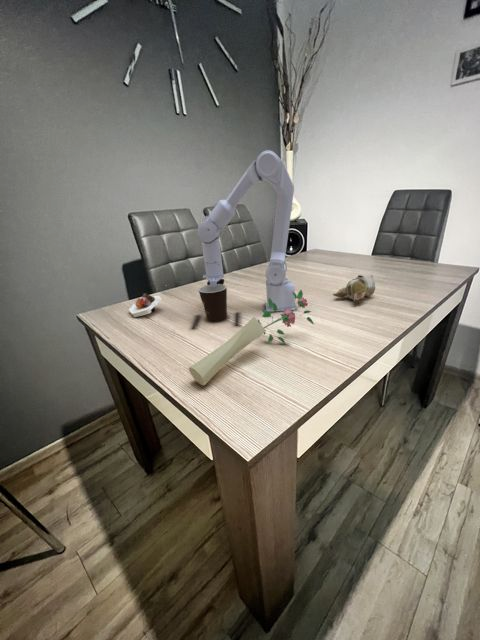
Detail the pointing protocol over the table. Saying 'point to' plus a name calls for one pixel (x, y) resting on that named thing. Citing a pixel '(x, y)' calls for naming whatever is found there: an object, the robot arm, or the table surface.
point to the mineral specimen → (144, 305)
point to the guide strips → (198, 318)
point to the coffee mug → (214, 302)
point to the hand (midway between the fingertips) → (218, 301)
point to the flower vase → (242, 341)
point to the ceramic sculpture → (358, 288)
